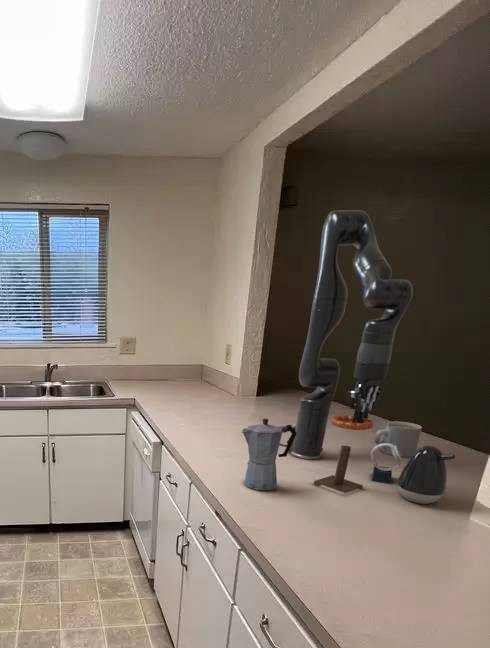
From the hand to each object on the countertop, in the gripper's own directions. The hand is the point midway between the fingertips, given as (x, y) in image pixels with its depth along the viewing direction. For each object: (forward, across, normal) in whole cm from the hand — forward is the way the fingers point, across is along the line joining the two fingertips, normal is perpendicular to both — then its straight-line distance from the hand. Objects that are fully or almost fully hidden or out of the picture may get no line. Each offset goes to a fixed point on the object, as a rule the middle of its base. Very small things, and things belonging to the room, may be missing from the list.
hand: (359, 423), depth 121 cm
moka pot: (+19, +22, -12) cm, 31 cm away
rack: (+18, +4, 0) cm, 19 cm away
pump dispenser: (+19, -6, +16) cm, 25 cm away
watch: (+19, -13, +3) cm, 23 cm away
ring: (-1, +4, 0) cm, 4 cm away
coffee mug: (+19, -43, -9) cm, 48 cm away
